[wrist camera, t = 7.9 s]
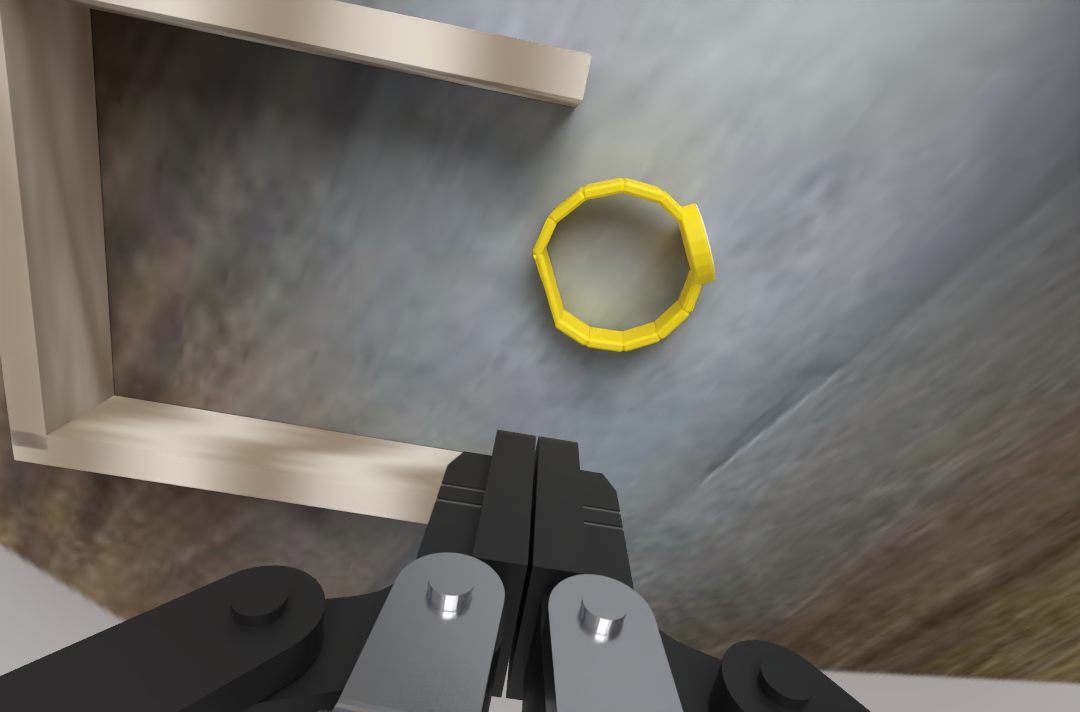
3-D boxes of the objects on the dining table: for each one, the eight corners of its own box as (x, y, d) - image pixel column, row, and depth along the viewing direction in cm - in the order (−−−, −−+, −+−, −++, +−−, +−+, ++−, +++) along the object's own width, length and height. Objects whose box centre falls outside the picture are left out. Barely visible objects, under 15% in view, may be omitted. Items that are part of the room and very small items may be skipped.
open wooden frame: (582, 69, 20) (591, 54, 17) (503, 484, 25) (498, 534, 22) (48, -42, 19) (-57, -83, 15) (85, 417, 24) (14, 459, 21)
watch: (508, 219, 19) (685, 153, 18) (520, 207, 22) (677, 148, 21) (569, 376, 21) (734, 327, 20) (574, 348, 24) (721, 303, 22)
